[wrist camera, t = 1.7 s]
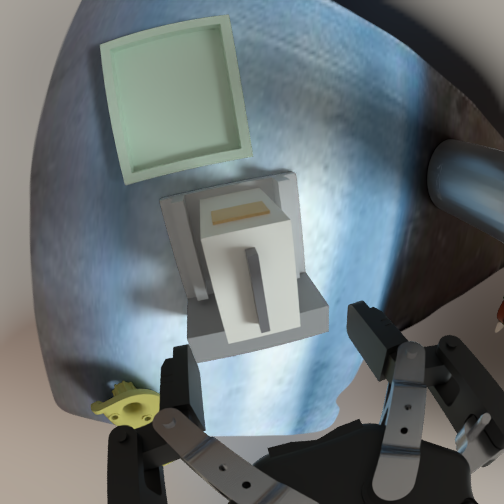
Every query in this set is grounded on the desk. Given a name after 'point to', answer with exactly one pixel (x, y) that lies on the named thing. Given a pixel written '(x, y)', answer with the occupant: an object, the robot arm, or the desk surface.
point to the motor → (501, 313)
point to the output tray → (175, 98)
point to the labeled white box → (250, 263)
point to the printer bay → (199, 282)
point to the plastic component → (129, 406)
